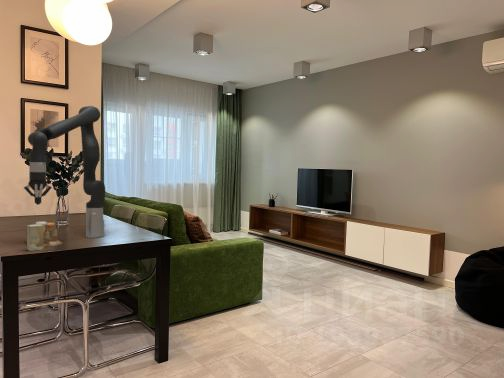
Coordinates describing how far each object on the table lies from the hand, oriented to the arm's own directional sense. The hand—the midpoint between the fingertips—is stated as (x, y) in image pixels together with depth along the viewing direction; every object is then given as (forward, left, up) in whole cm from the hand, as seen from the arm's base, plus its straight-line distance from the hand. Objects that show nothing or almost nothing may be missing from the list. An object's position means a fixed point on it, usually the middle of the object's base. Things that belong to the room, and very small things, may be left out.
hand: (37, 204), depth 194 cm
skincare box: (+4, +13, -21) cm, 25 cm away
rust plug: (-5, 0, -18) cm, 19 cm away
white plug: (-1, +4, -16) cm, 17 cm away
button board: (-3, 0, -21) cm, 21 cm away
